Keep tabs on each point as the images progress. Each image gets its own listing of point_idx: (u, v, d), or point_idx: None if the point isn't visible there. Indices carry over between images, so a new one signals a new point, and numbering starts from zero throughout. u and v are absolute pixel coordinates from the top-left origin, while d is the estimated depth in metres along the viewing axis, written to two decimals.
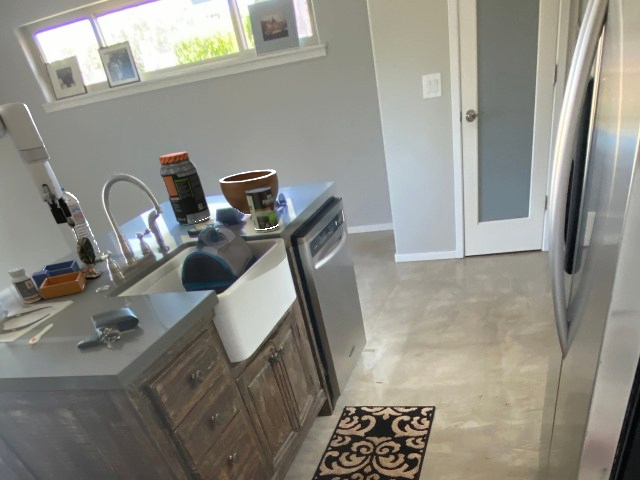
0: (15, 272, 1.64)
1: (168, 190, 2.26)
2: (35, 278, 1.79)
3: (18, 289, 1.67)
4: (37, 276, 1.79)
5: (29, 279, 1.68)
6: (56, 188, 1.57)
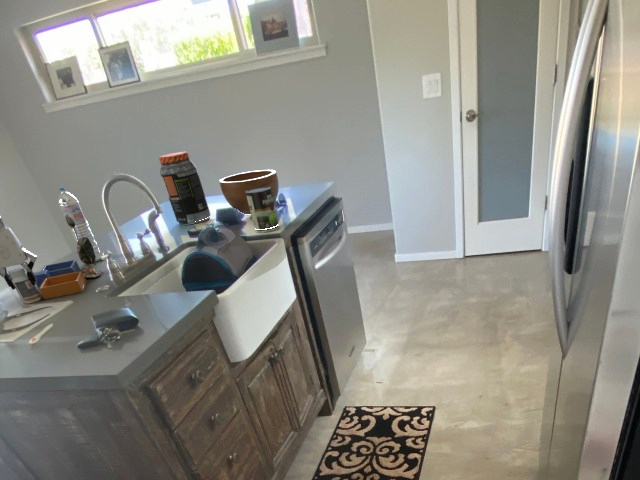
0: (15, 272, 1.64)
1: (168, 190, 2.26)
2: None
3: (18, 289, 1.67)
4: (37, 276, 1.79)
5: (29, 279, 1.68)
6: None
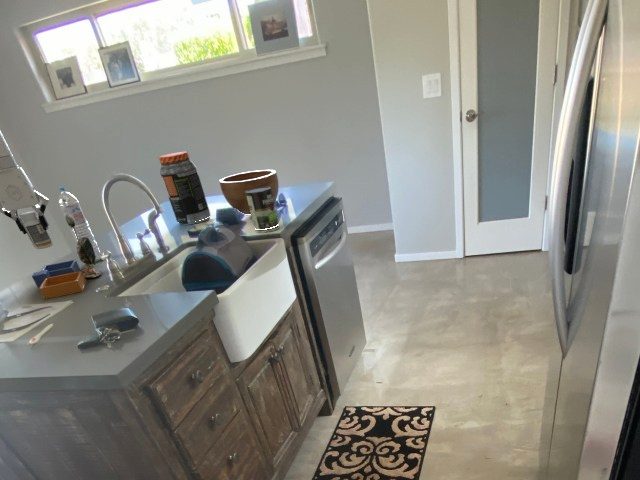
0: (27, 215, 1.60)
1: (168, 190, 2.26)
2: (35, 278, 1.79)
3: (29, 233, 1.63)
4: (37, 276, 1.79)
5: None
6: None
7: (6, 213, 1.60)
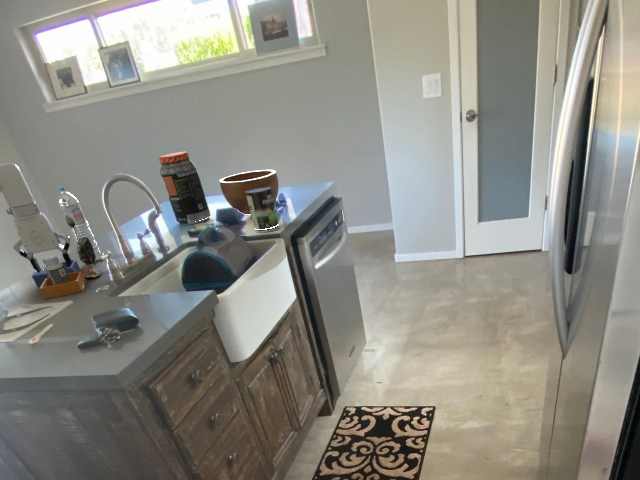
0: (49, 260, 1.69)
1: (168, 190, 2.26)
2: (35, 278, 1.79)
3: (52, 277, 1.72)
4: (37, 276, 1.79)
5: (62, 267, 1.73)
6: None
7: (21, 253, 1.67)
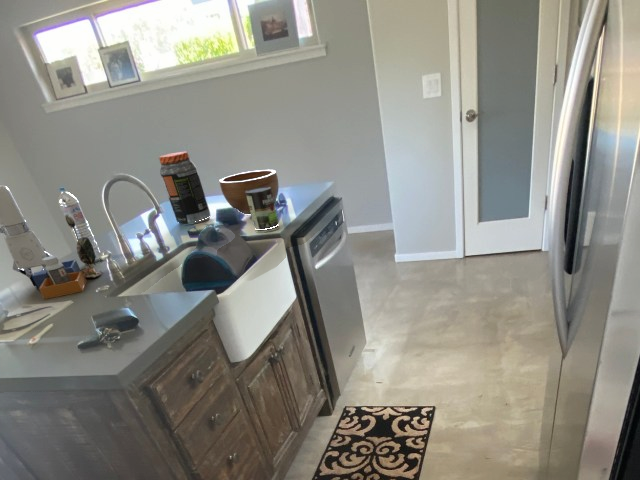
0: (49, 260, 1.69)
1: (168, 190, 2.26)
2: (35, 278, 1.79)
3: (52, 277, 1.72)
4: (37, 276, 1.79)
5: (62, 267, 1.73)
6: None
7: (21, 271, 1.78)
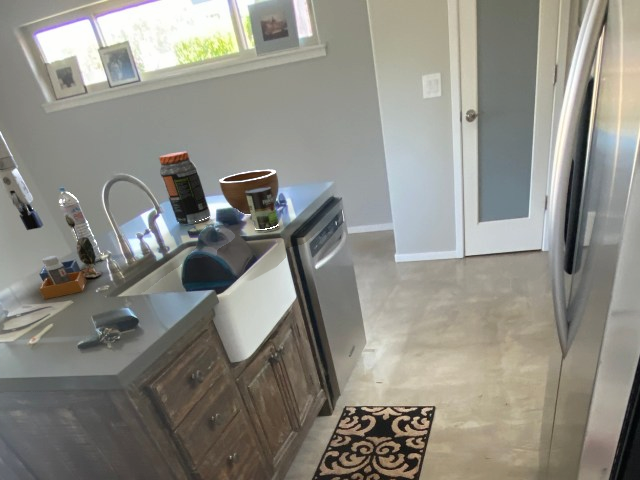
0: (49, 260, 1.69)
1: (168, 190, 2.26)
2: (35, 215, 1.76)
3: (52, 277, 1.72)
4: (35, 213, 1.76)
5: (62, 267, 1.73)
6: None
7: (24, 209, 1.72)
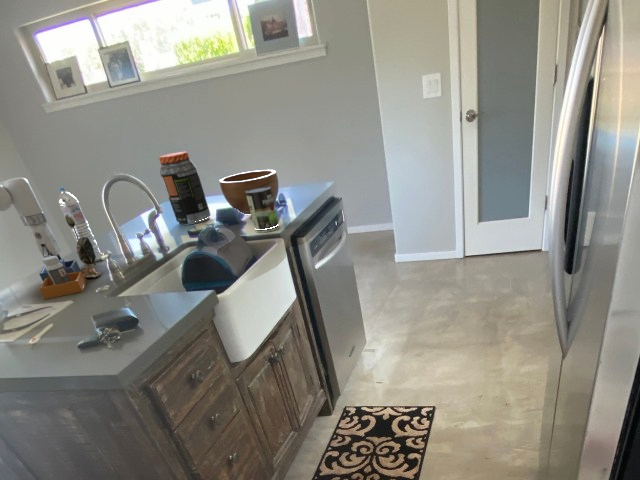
0: (49, 260, 1.69)
1: (168, 190, 2.26)
2: (63, 264, 1.88)
3: (52, 277, 1.72)
4: (62, 262, 1.88)
5: (62, 267, 1.73)
6: None
7: None
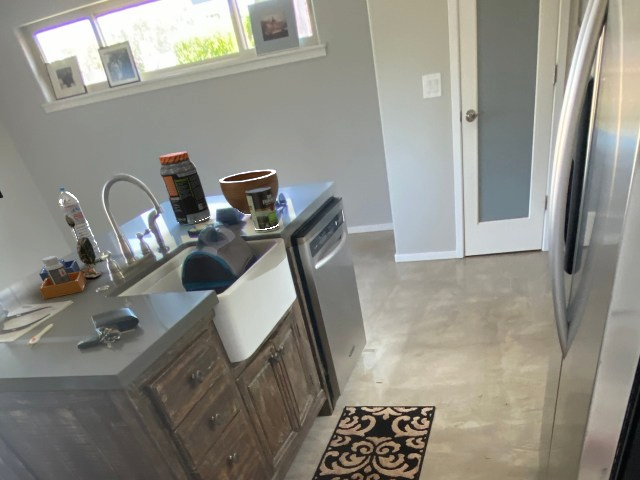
0: (49, 260, 1.69)
1: (168, 190, 2.26)
2: (63, 264, 1.88)
3: (52, 277, 1.72)
4: (62, 262, 1.88)
5: (62, 267, 1.73)
6: None
7: None
